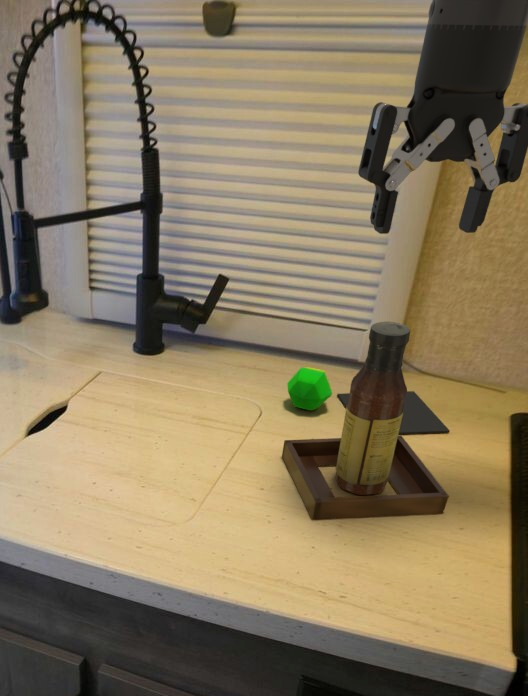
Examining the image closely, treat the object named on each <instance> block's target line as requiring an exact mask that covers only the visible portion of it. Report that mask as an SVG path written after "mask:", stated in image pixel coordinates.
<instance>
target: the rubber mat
mask: <svg viewBox="0 0 528 696" xmlns="http://www.w3.org/2000/svg"><path fill="white" fill-rule="evenodd" d="M349 394H350V392H348V393H337V395H336V396H337V398H338V400H339V401H340V402H341V404H342V405H343V407H344V408H345V409H346V407H347V403H348V400H349ZM403 409H404V411H403V416H402V420H401V425H400V429H399V433H398V436H408V435H409V436H410V435H432V434H450V431H451V430H450V429H449V428H448V427H447V426H446V425H445V424H444V423H443V421H442V420H441V419H440V418H439V417H438V415H436V414H435V413H434V411H433V410H432V409H431V408H430V407H429V406H428V405H427V404H426V403H425V402H424V400H422V398H421V397H420V396H419V395H418V394H417V393H416V392H415V390H411V391H410V390H409V391H408V390H407V393H406V397H405V401H404V407H403Z"/></svg>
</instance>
